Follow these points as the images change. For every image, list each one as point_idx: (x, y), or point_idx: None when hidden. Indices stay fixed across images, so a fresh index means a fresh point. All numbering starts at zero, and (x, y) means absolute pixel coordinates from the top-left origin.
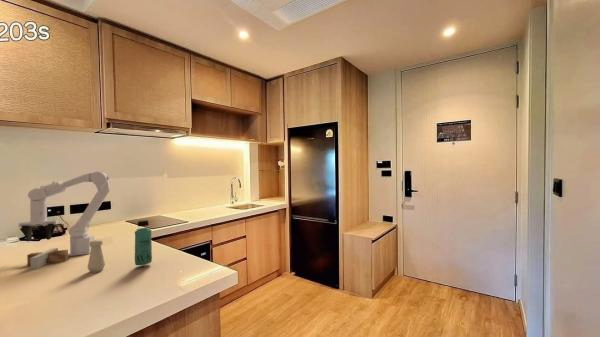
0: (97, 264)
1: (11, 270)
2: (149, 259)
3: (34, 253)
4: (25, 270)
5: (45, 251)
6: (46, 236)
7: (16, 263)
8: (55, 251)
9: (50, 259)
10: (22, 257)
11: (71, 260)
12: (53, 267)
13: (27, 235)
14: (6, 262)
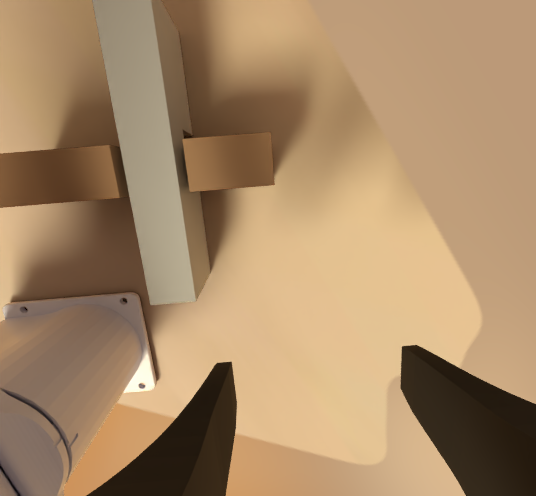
0: None
1: (309, 62)
2: None
3: (235, 165)
4: (203, 21)
5: (178, 209)
6: (222, 382)
7: (383, 235)
8: (72, 173)
9: None
10: None
11: None
12: (32, 25)
13: (455, 388)
14: (462, 281)
